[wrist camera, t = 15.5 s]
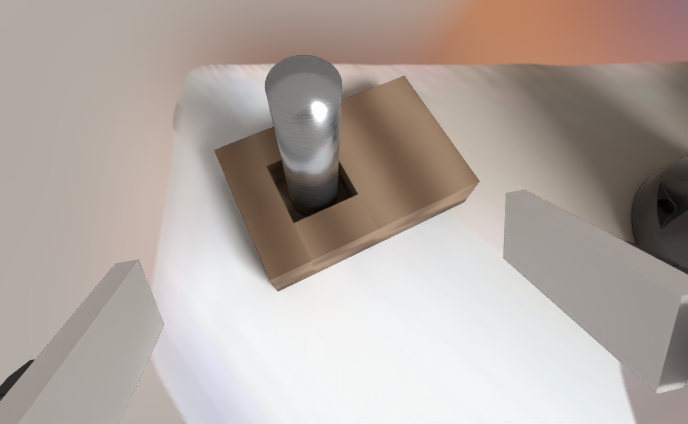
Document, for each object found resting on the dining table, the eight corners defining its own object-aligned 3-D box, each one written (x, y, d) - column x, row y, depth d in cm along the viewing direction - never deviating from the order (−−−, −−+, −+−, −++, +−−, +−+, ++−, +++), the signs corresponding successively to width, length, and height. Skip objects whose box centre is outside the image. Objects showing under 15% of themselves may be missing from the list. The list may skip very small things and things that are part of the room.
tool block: (397, 104, 38) (404, 75, 34) (464, 201, 34) (479, 181, 30) (227, 173, 34) (214, 150, 31) (278, 291, 30) (269, 280, 27)
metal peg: (325, 169, 34) (322, 46, 21) (344, 206, 32) (355, 100, 19) (283, 186, 33) (253, 69, 20) (301, 225, 31) (282, 127, 18)
